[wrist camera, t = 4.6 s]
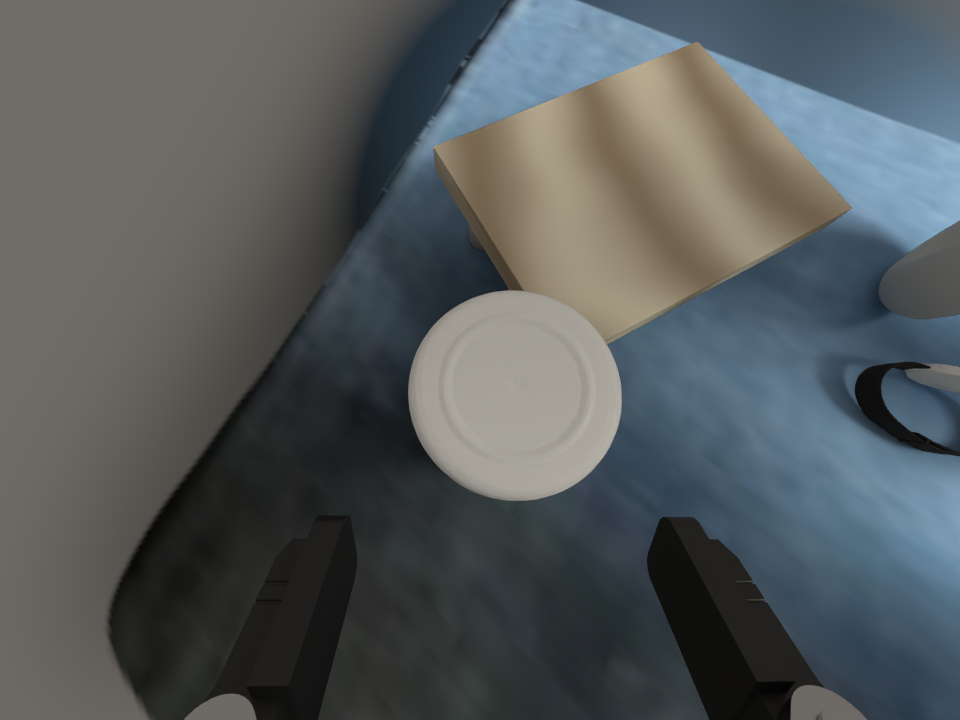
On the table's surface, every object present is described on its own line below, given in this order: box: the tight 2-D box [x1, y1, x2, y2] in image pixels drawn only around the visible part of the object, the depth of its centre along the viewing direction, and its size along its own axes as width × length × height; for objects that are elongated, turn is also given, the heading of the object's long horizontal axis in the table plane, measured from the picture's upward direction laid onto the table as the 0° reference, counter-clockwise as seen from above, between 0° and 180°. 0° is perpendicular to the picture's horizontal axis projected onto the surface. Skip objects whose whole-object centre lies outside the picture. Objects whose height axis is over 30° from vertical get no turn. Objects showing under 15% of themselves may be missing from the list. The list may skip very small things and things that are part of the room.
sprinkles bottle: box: [408, 290, 622, 501], centre depth 15 cm, size 5×5×13 cm
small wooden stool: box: [434, 42, 852, 344], centre depth 22 cm, size 16×12×6 cm
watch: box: [855, 362, 960, 456], centre depth 21 cm, size 8×5×4 cm, turn 67°
